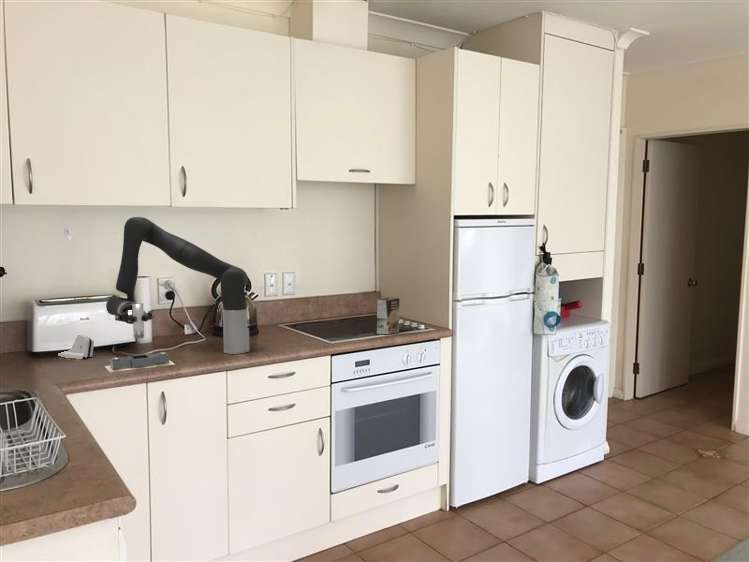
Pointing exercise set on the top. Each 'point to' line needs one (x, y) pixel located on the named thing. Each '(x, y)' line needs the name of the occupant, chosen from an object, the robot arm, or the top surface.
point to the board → (137, 368)
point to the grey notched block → (139, 361)
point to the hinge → (79, 348)
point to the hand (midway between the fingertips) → (140, 319)
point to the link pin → (138, 320)
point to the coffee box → (387, 315)
